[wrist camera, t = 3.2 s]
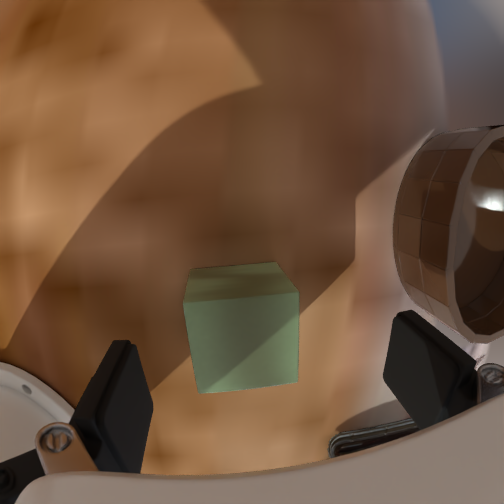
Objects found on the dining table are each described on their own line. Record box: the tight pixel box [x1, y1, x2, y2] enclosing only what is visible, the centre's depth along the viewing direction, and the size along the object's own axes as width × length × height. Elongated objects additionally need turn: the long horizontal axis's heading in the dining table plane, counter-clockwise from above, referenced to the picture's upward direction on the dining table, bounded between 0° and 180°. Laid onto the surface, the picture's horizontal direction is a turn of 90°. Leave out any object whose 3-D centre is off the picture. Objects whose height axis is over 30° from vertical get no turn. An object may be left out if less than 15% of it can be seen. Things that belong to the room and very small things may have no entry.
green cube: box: [183, 262, 299, 394], centre depth 14 cm, size 4×4×4 cm
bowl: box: [393, 125, 504, 344], centre depth 15 cm, size 13×13×5 cm
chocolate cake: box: [328, 418, 420, 458], centre depth 20 cm, size 10×7×12 cm
